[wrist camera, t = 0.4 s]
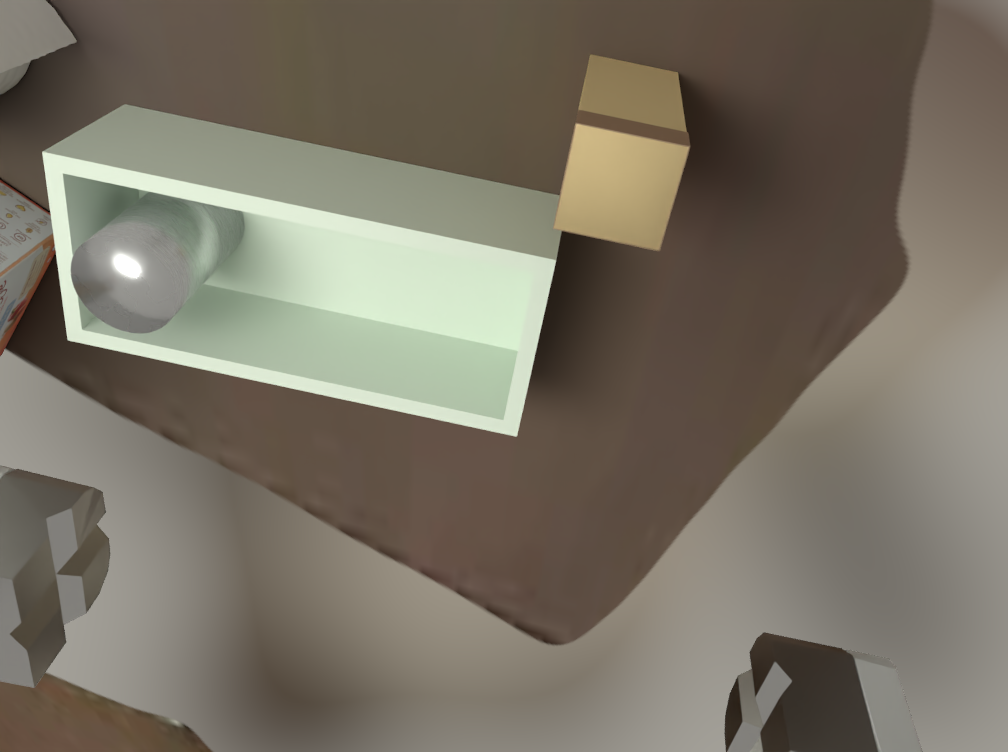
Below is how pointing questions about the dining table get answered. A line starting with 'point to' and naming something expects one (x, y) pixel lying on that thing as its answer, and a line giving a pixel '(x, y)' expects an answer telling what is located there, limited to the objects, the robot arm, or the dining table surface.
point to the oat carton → (624, 154)
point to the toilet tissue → (27, 37)
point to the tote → (325, 265)
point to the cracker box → (21, 255)
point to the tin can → (153, 260)
